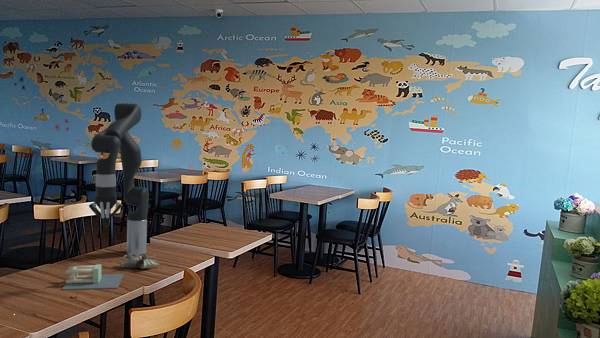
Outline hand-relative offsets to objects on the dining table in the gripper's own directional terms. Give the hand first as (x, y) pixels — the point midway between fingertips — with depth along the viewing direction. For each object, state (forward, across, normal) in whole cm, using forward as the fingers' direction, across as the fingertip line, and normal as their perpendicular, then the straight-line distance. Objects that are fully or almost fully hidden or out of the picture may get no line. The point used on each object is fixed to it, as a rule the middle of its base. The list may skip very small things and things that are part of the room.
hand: (105, 226), depth 182 cm
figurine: (+23, -12, -16) cm, 31 cm away
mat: (+22, +4, +2) cm, 23 cm away
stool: (+19, +2, +2) cm, 19 cm away
